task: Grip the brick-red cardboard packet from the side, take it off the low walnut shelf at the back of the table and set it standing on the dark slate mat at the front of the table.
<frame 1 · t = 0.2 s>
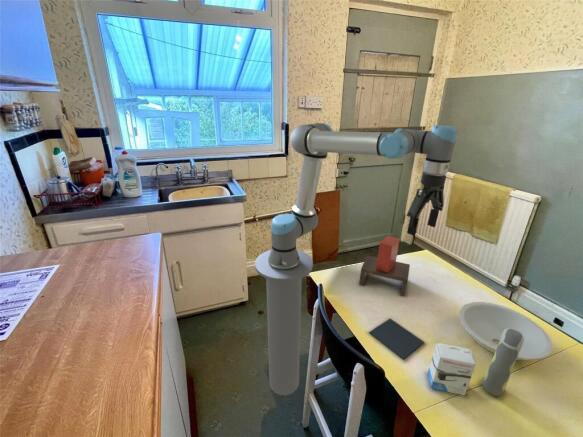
hand: (421, 230, 105), 28 cm above the table, tool pointing down, fingers open, 13 cm apart
mat: (396, 338, 93), on the table
shelf: (383, 282, 122), on the table
soup bowl: (496, 343, 92), on the table
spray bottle: (491, 389, 77), on the table
packet: (385, 266, 118), point 8 cm above the table, touching shelf
ink box: (445, 384, 78), on the table
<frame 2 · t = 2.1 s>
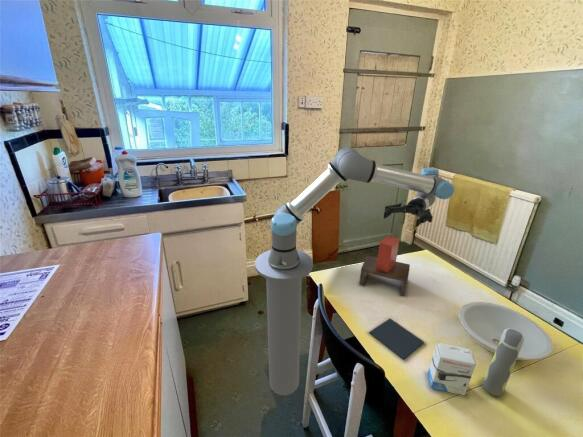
hand: (400, 219, 118), 26 cm above the table, tool horizontal, fingers open, 13 cm apart
nothing on the table moved.
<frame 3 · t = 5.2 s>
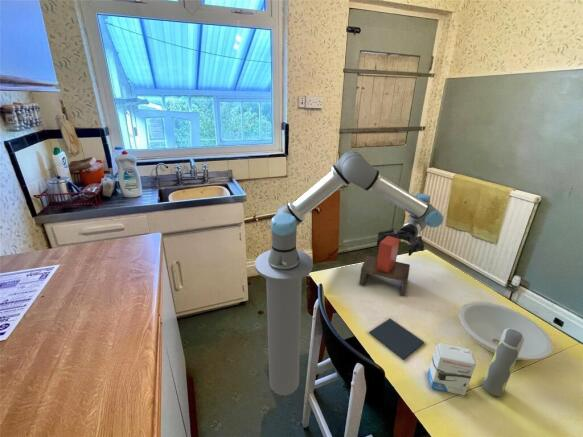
hand: (393, 247, 120), 15 cm above the table, tool horizontal, fingers open, 13 cm apart
nothing on the table moved.
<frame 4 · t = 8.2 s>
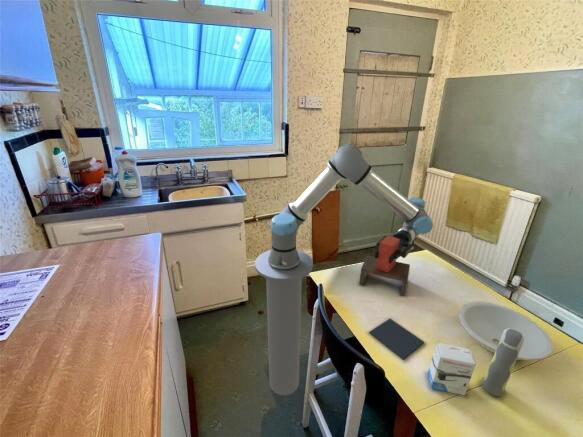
hand: (382, 257, 112), 15 cm above the table, tool horizontal, fingers closed on packet, 5 cm apart
packet: (385, 266, 118), point 8 cm above the table, touching gripper, shelf
everything else where it was.
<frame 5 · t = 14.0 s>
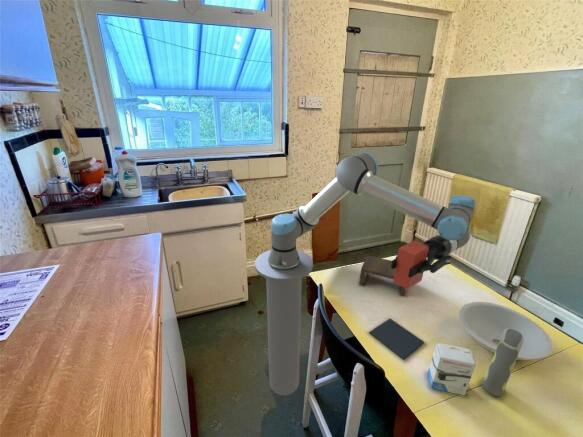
hand: (401, 268, 84), 26 cm above the table, tool horizontal, fingers closed on packet, 5 cm apart
packet: (407, 281, 89), point 20 cm above the table, touching gripper
everything else where it was.
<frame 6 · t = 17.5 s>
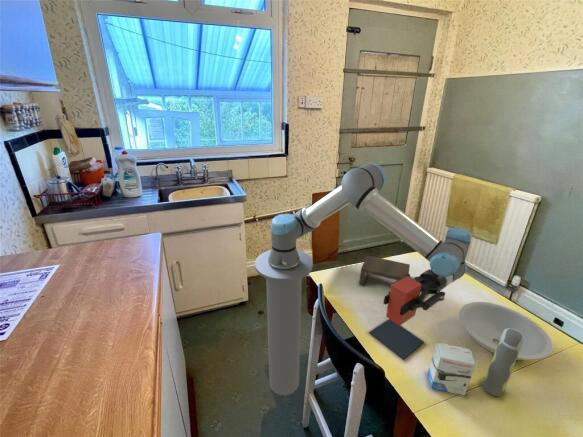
hand: (393, 305, 84), 16 cm above the table, tool horizontal, fingers closed on packet, 5 cm apart
packet: (400, 316, 90), point 9 cm above the table, touching gripper
everything else where it was.
when the fingers open (7 cm above the table, at t = 20.1 s): packet stays where it is, resting on mat.
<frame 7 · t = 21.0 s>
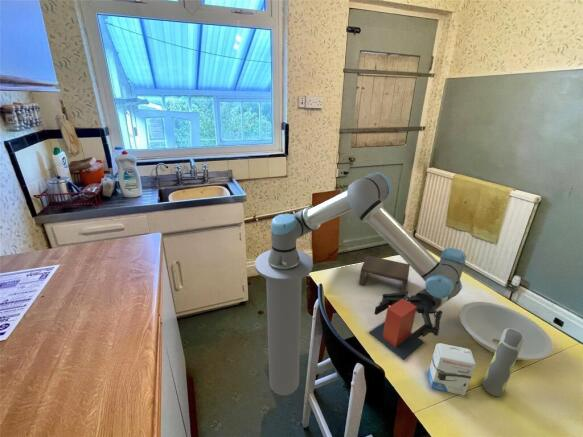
hand: (393, 323, 88), 8 cm above the table, tool horizontal, fingers open, 13 cm apart
packet: (396, 336, 93), point 1 cm above the table, touching mat
everything else where it was.
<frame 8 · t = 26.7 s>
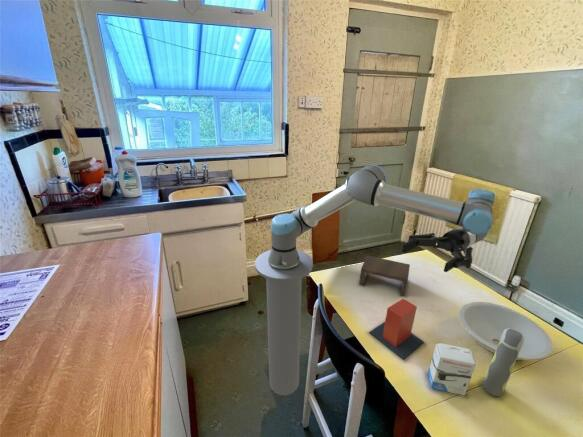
hand: (423, 257, 86), 28 cm above the table, tool horizontal, fingers open, 13 cm apart
nothing on the table moved.
at the end: packet inside the target area on the mat (0.0 cm from its centre), point 0.6 cm above the mat's base; packet tilted 0°; the gripper is holding nothing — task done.
